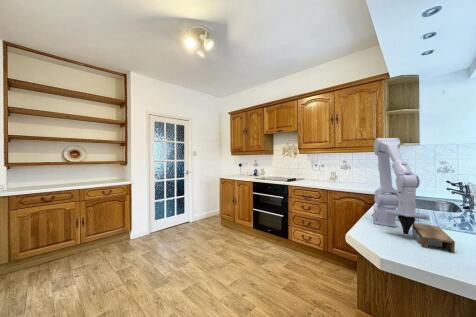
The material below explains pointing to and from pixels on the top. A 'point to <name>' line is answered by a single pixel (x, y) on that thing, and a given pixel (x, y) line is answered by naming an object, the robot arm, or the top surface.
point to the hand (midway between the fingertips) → (405, 233)
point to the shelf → (433, 235)
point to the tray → (430, 242)
